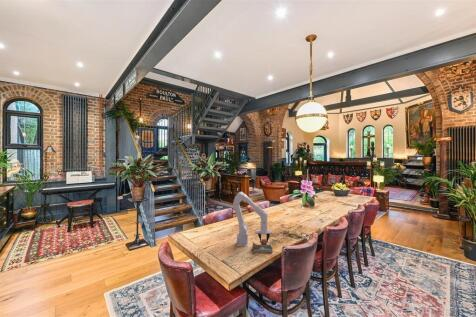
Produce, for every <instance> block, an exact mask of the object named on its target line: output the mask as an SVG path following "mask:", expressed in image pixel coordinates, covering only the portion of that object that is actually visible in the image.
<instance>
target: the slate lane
mask: <svg viewBox="0 0 476 317" xmlns="http://www.w3.org/2000/svg"><path fill="white" fill-rule="evenodd" d="M272 244H273V243H272V242H269V244H267V245H261V244H257V245H258V246H260V249H254V252H253V253H263V254H264V253H265V254H273V245H272Z"/></svg>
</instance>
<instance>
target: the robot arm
mask: <svg viewBox="0 0 476 317" xmlns="http://www.w3.org/2000/svg"><path fill="white" fill-rule="evenodd" d="M241 202H243V203H244V202H245V203H247V204H248V205H249V206H250V207H252V208H253V212H255V213H256V214H257V215H258V216H259V218H260V230H255V231H254V233H255V234H254V235H257V236H258V238H259V242H260V244H261V241H262V235H266V238H265V240H266V243H267V244H268V243H269V242H268V241H269V239H270V237H271V235H273V234H274V232H273V231H271V230H268V216H269V215H268V212H267V211H265V210H264V209H263V208H261V206H260V205H259V204H256V203H255V202H253V200H252V199H251V198H250V197H249V196H248V195H247V194H245V193H244V192H243V191H239V192H237V194H236V195H235V196H234V199H233V202H232V205H233V208H234V212H235V215H236V219H237V223H238V229H239V230H238V233H236V247H249V240H248V239H249V236H248V235H249V234H248V233H249V232H248V229H249V227H248V225H247V224H246V222H245V219H244V216H243V212H242V209H241V206H240V205H241V204H240V203H241Z"/></svg>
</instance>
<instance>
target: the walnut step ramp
mask: <svg viewBox="0 0 476 317" xmlns="http://www.w3.org/2000/svg"><path fill="white" fill-rule="evenodd" d="M258 245H259V244H257V243H255V242H252V253H255V252H254V249H260V246H258Z"/></svg>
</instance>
